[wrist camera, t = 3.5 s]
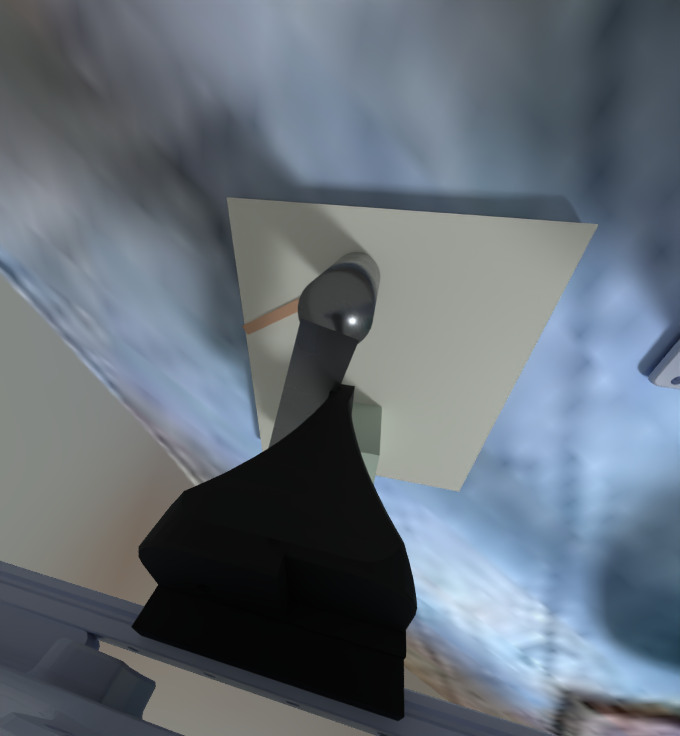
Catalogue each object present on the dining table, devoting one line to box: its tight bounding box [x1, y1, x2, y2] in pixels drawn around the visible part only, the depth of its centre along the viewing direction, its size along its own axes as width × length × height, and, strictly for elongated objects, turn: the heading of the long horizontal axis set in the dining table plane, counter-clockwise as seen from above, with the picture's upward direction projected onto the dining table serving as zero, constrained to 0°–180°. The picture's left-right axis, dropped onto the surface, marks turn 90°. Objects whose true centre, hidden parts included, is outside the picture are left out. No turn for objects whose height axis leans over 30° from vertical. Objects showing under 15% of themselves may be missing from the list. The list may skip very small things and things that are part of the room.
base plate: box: [227, 197, 599, 491], centre depth 16 cm, size 16×18×1 cm
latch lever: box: [268, 252, 380, 448], centre depth 13 cm, size 2×12×6 cm, turn 162°
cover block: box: [352, 402, 382, 484], centre depth 17 cm, size 5×5×4 cm
